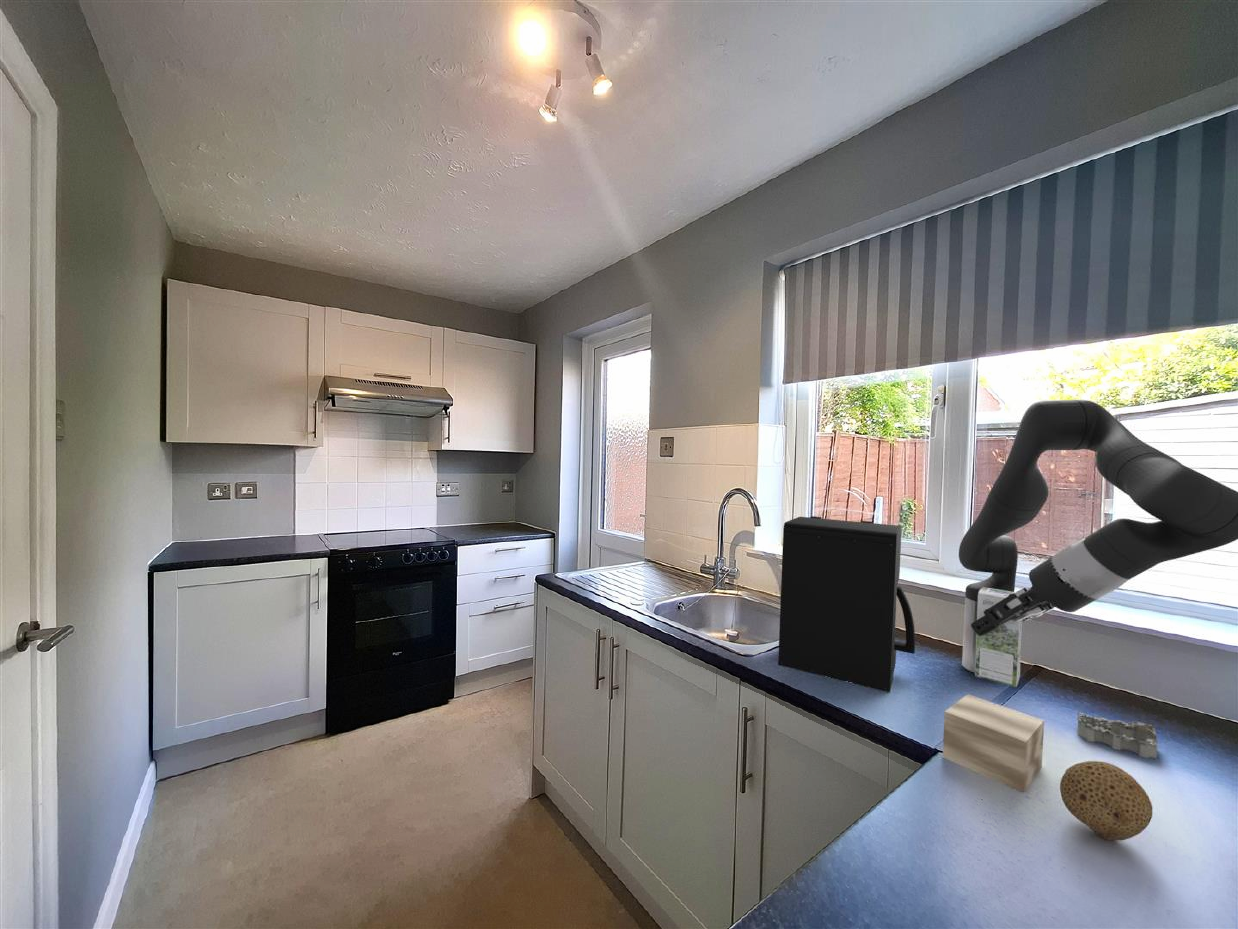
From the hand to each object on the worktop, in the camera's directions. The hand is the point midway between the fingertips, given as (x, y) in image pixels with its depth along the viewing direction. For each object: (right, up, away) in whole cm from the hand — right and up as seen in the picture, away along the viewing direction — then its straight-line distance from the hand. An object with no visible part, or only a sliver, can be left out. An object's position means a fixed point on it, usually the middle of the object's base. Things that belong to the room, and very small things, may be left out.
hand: (988, 627), depth 85 cm
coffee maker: (-8, -22, +37) cm, 43 cm away
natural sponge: (+2, -23, -17) cm, 29 cm away
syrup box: (+1, -8, -1) cm, 8 cm away
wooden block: (0, -23, -1) cm, 23 cm away
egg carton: (+28, -24, +6) cm, 37 cm away
